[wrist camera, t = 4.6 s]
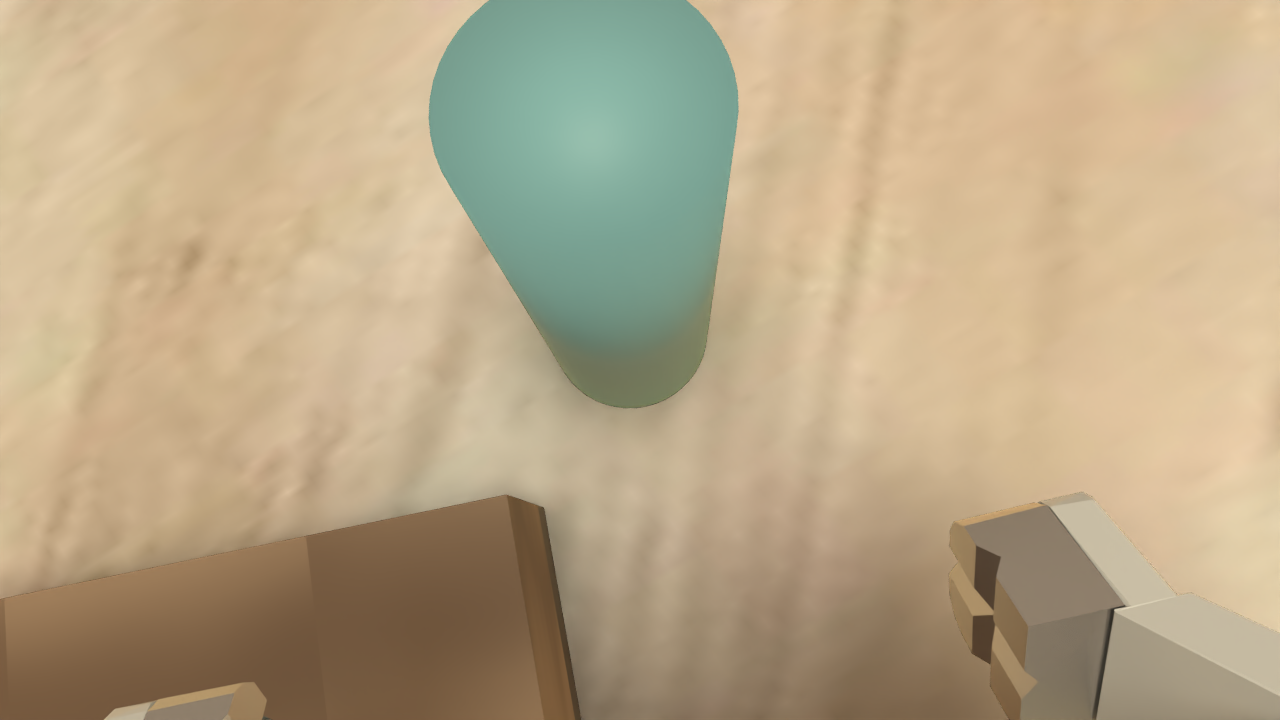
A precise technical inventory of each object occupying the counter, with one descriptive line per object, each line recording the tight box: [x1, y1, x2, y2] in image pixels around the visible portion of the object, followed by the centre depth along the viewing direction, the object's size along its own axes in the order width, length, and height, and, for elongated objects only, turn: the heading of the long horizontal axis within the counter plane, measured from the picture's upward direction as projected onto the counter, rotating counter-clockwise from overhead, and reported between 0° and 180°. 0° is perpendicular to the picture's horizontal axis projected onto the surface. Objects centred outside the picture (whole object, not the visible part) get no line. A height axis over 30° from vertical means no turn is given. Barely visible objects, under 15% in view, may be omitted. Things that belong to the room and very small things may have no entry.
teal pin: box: [429, 0, 738, 408], centre depth 17 cm, size 4×4×12 cm
